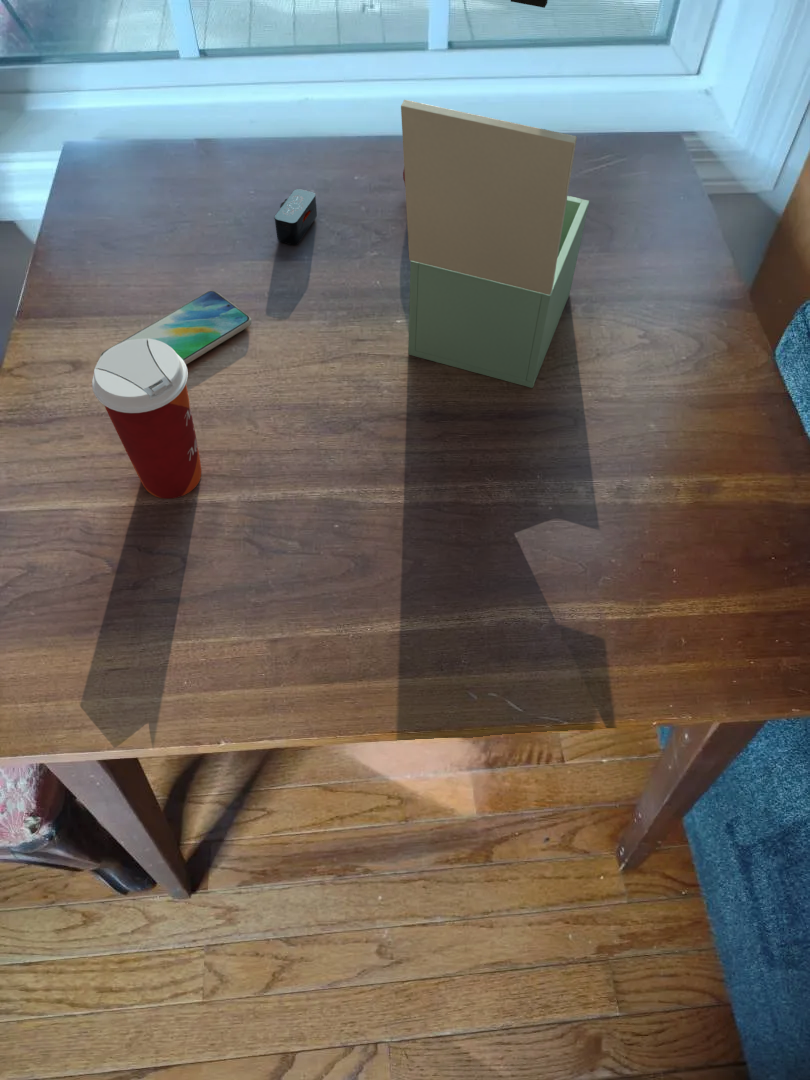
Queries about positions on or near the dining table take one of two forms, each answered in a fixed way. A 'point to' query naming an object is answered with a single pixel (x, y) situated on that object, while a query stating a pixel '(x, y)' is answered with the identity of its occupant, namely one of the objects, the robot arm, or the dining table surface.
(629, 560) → the dining table surface
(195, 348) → the smartphone
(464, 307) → the case
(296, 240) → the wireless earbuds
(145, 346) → the paper cup
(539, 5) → the robot arm
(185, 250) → the dining table surface
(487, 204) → the cover
